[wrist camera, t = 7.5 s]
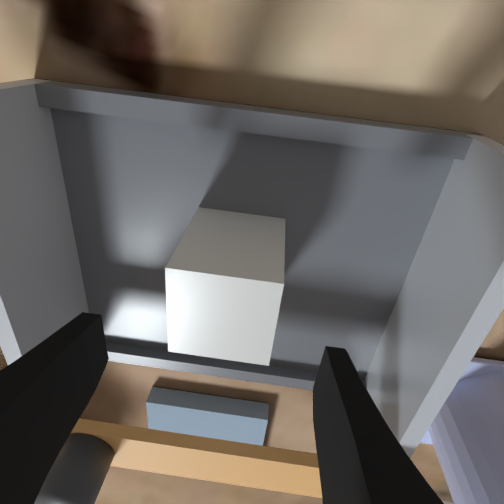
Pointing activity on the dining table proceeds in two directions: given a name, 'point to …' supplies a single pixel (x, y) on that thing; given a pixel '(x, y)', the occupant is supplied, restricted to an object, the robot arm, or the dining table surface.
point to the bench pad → (207, 415)
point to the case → (258, 203)
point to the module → (226, 286)
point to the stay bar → (171, 462)
